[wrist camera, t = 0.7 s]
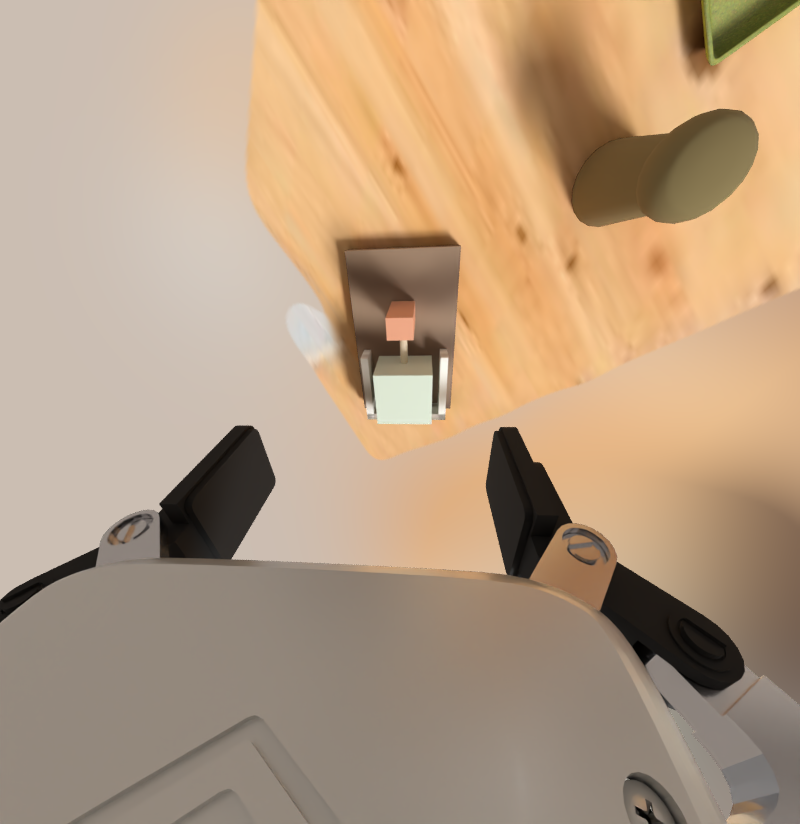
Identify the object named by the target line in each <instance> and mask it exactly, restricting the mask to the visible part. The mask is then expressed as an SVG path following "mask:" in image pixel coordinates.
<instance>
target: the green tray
mask: <svg viewBox="0 0 800 824" xmlns="http://www.w3.org/2000/svg"><path fill="white" fill-rule="evenodd" d="M799 5H800V0H701V6H702V17H703V29H704V40H705V50H706V57H707V60H708V62H709V64H710V65H711V66H712V65H716V64H718V63H719V62H721V61H722V60H724V59H725V58H726V57H728V56H729V55H731V54H732V53H733V52H735V51H737V50H738V49H739V48H740V47H742V46H743V45H745V44H746V43H747V42H749V41H750V40H751V39H753V38H754V37H756V36H757V35H758V34H760V33H761V32H763V31H764V30H765V29H767V28H768V27H770V26H771V25H772V24H774V23H775V22H776V21H778V20H779V19H781V18H782V17H784V16H785V15H786V14H788V13H789V12H790V11H792V10H793V9H795V8H796V7H797V6H799Z"/></svg>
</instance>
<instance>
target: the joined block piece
mask: <svg viewBox="0 0 800 824" xmlns="http://www.w3.org/2000/svg"><path fill="white" fill-rule="evenodd" d="M385 321H386V335H387V341H399V340H400V356H379V358H378V361H377V364H376V368H375V371H374V374H373V382H374V392H375V401H376V411H377V421H378V424H431V421H432V380H433V373H432V355H428V356H408V345H407V340H414V330H415V301H392V302H391V305H390V307H389V310H388V313H387V315H386V318H385Z"/></svg>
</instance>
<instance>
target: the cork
mask: <svg viewBox="0 0 800 824" xmlns="http://www.w3.org/2000/svg"><path fill="white" fill-rule="evenodd" d="M758 136H759V134H758V132H757V129H756V126H755V124H754V122H753V120H752V119H751V118H750V117H749V116H747V115H746V114H745V113H744V112H742V111H738V110H730V109H717V110H713V111H710V112H706V113H703V114H700V115H697V116H695V117H693V118H691V119H690V120H688V121H686V122H685V123H683V124H681V125H680V126H678V127H676V128H675V129H674V130H673V131H671V132H670V133H668V134H658V135H647V136H637V137H626V138H620V139H617V140H613V141H610V142H608V143H606V144H605V145H603V146H602V147H600V148H598V149H597V150H596V151H595V152H594V153H593V154H592V155H591V156H590V157H589V158H588V159H587V160H586V162H585V163H584V165H583V166H582V168H581V170H580V171H579V173H578V175H577V178H576V181H575V183H574V186H573V192H572V205H573V209H574V213H575V214H576V216H577V217H578V219H579V220H580V221H581V222H583V223H584V224H586V225H588V226H594V227H601V226H605V225H609V224H614V223H618V222H622V221H627V220H631V219H636V218H640V217H644V216H647V217H649V218H651V219H652V220H654V221H655V222H662V223H672V224H675V223H680V222H684V221H689V220H692V219H695V218H697V217H699V216H701V215H703V214H705V213H707V212H709V211H711V210H712V209H714V208H715V207H716V206H718V205H719V204H720V203H721V202H723V201H724V200H725V199H726V198H728V197H729V196H730V195H731V194H732V193H733V192H734V191H735V189H736V188H737V187H738V186H739V185H740V184H741V183H742V182H743V180H744V178H745V177H746V175H747V173H748V172H749V170H750V168H751V167H752V165H753V162H754V159H755V156H756V153H757V150H758Z"/></svg>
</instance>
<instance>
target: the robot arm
mask: <svg viewBox="0 0 800 824" xmlns="http://www.w3.org/2000/svg"><path fill="white" fill-rule="evenodd" d="M274 486H275V476H274V473H273V470H272V468H271V465H270V462H269V459H268V457H267V454H266V451H265V449H264V446H263V443H262V440H261V437H260V435H259V432H258V431H257V430H256V429H254V427H253V426H235V427H234V428H233V429H232V430H231V431H230V432H229V433H228V434H227V435H226V436H225V437H224V438H223V439H222V440H221V441H220V442H219V443H218V444H217V445H216V446H215V447H214V448H213V449H212V450H211V451H210V452H209V453H208V454H207V456H206V457H205V458H204V459H203V460H202V461H201V462H200V463H199V464H198V465H197V466H196V467H195V468H194V469H193V470H192V471H191V472H190V473H189V474H188V475H187V476H186V477H185V478H184V479H183V480H182V481H181V482H180V483H179V484H178V485H177V486H176V487H175V488H174V489H173V490H172V491H171V492H170V493H169V494H168V495H167V496H166V498H165V499H163V500H162V502H161V503H160V506H161V507H162V510H161V511H160V512H159V513H158V512H156V511H154V510H143V511H139V512H136V513H133V514H130V515H128V516H126V517H124V518H123V519H121V520H119V521H118V522H117V523H115V524H114V525H113V526H112V527H111V528H109V529H108V530H107V531H106V533H105V534H104V535H103V537H102V539H101V541H100V547H98V548H96V549H94V550H92V551H90V552H88V553H86V554H84V555H81V556H80V557H77V558H75V559H73V560H71V561H69V562H67V563H65V564H62V565H61V566H58V567H56V568H54V569H52V570H50V571H48V572H46V573H43V574H41V575H39V576H37V577H35V578H33V579H31V580H29V581H27V582H25V583H24V584H22V585H19V586H18V587H16V588H14V589H13V590H11V591H10V592H9V593H8V594H6V595H5V596H4V597H3V598H2V599H1V600H0V824H800V705H799V704H798V703H796V702H795V701H794V700H793V699H792V698H790V697H789V696H788V695H787V694H786V693H785V692H783V691H782V690H781V689H780V688H779V687H777V686H776V685H775V684H774V683H773V682H772V681H770V680H769V679H768V678H767V677H766V676H765V675H764V676H762V677H761V678H759V677H757V676H756V675H755V674H754V673H753V672H752V671H751V670H749V669H748V668H747V667H746V666H745V665H744V660H743V658H742V656H741V654H740V652H739V650H738V648H737V647H736V645H735V644H734V643H733V641H732V640H731V639H730V637H729V636H728V635H727V634H726V633H725V632H724V631H723V630H722V629H721V628H720V627H718V626H717V625H716V624H715V623H713V622H712V621H711V620H709V619H708V618H706V617H705V616H704V615H702V614H700V613H699V612H697V611H695V610H694V609H692V608H691V607H689V606H687V605H686V604H684V603H683V602H681V601H679V600H678V599H676V598H674V597H673V596H671V595H670V594H668V593H666V592H665V591H663V590H661V589H659V588H658V587H657V586H655V585H654V584H652V583H650V582H649V581H647V580H645V579H644V578H642V577H640V576H639V575H637V574H636V573H634V572H632V571H631V570H629V569H628V568H626V567H624V566H623V565H621V564H620V563H618V562H617V554H616V552H615V549H614V547H613V546H612V544H611V543H610V541H609V540H608V539H606V538H605V537H604V536H603V535H602V534H601V533H599V532H598V531H596V530H594V529H593V528H590V527H588V526H585V525H582V524H577V523H572V521H571V519H570V517H569V516H568V513H567V511H566V509H565V507H564V505H563V504H562V501H561V500H560V498H559V496H558V494H557V492H556V490H555V488H554V486H553V484H552V482H551V480H550V478H549V476H548V474H547V472H546V470H545V468H544V467H543V465H542V464H541V463H538V462H533V460H532V458H531V456H530V454H529V452H528V450H527V448H526V446H525V444H524V442H523V439H522V437H521V435H520V434H519V431H518V429H517V428H516V427H500V429H499V431H495V432H494V436H493V442H492V448H491V455H490V461H489V468H488V474H487V480H486V491H487V496H488V499H489V504H490V508H491V512H492V516H493V520H494V524H495V528H496V532H497V537H498V541H499V545H500V549H501V553H502V557H503V562H504V565H505V570H506V573H507V575H502V574H494V573H485V572H472V571H458V570H443V569H427V568H406V567H387V566H367V565H346V564H325V563H302V562H280V561H256V560H231V559H232V557H233V555H234V554H235V552H236V550H237V549H238V547H239V545H240V544H241V542H242V540H243V538H244V537H245V535H246V533H247V532H248V530H249V528H250V527H251V525H252V523H253V521H254V520H255V518H256V516H257V515H258V513H259V511H260V510H261V508H262V506H263V504H264V503H265V501H266V500H267V498H268V496H269V494H270V493H271V491H272V489H273V488H274ZM668 707H669V708H671V709H674V710H676V711H677V712H678V713H679V714H680V715H681V716H682V717H683V719H684V720H686V722H687V723H688V724H689V725H690V726H691V727H692V728H693V730H694V732H693V733H692V735H693V736H694V737H695V738H696V739H697V740H698V742H699V743H700V744H701V745H702V746H703V747H704V748H705V749H706V751H707V752H708V753H709V754H710V756H711V757H712V758H713V760H714V761H715V762H716V764H717V765H718V766H719V768H720V769H721V771H722V773H723V775H724V777H725V779H726V781H727V783H728V785H729V787H730V792H731V797H732V803H733V805H732V809H731V812H730V815H729V817H728V818H727V820H725V818H724V816H723V814H722V812H721V810H720V808H719V805H718V804H717V802H716V800H715V798H714V796H713V794H712V792H711V790H710V788H709V786H708V784H707V782H706V780H705V778H704V776H703V774H702V772H701V770H700V768H699V766H698V764H697V762H696V761H695V758H694V756H693V754H692V753H691V751H690V749H689V747H688V745H687V743H686V741H685V739H684V737H683V735H682V733H681V731H680V729H679V727H678V725H677V723H676V722H675V720H674V718H673V716H672V714H671V712H670V711H669V709H668ZM626 778H628V779H630V780H626V781H625V779H626ZM650 806H651V808H652V811H651V809H650Z"/></svg>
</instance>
